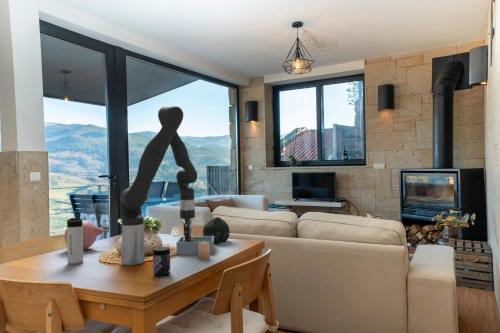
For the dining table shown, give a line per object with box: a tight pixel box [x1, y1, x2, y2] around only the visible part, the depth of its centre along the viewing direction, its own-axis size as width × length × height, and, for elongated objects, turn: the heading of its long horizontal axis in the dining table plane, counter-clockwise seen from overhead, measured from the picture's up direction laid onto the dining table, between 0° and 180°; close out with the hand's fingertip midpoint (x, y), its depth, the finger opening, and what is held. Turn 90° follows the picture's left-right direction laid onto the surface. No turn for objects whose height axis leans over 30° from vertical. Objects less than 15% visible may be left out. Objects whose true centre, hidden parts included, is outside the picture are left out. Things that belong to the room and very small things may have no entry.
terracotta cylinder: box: [198, 242, 210, 261], centre depth 167 cm, size 5×5×7 cm
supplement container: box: [152, 246, 171, 278], centre depth 142 cm, size 7×7×10 cm
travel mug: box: [66, 217, 84, 266], centre depth 161 cm, size 6×7×20 cm
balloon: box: [64, 219, 107, 251], centre depth 189 cm, size 15×20×15 cm
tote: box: [175, 235, 215, 255], centre depth 183 cm, size 18×14×6 cm
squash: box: [202, 216, 231, 244], centre depth 203 cm, size 14×15×15 cm
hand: (187, 241), depth 182 cm, fingers open, 5 cm apart
